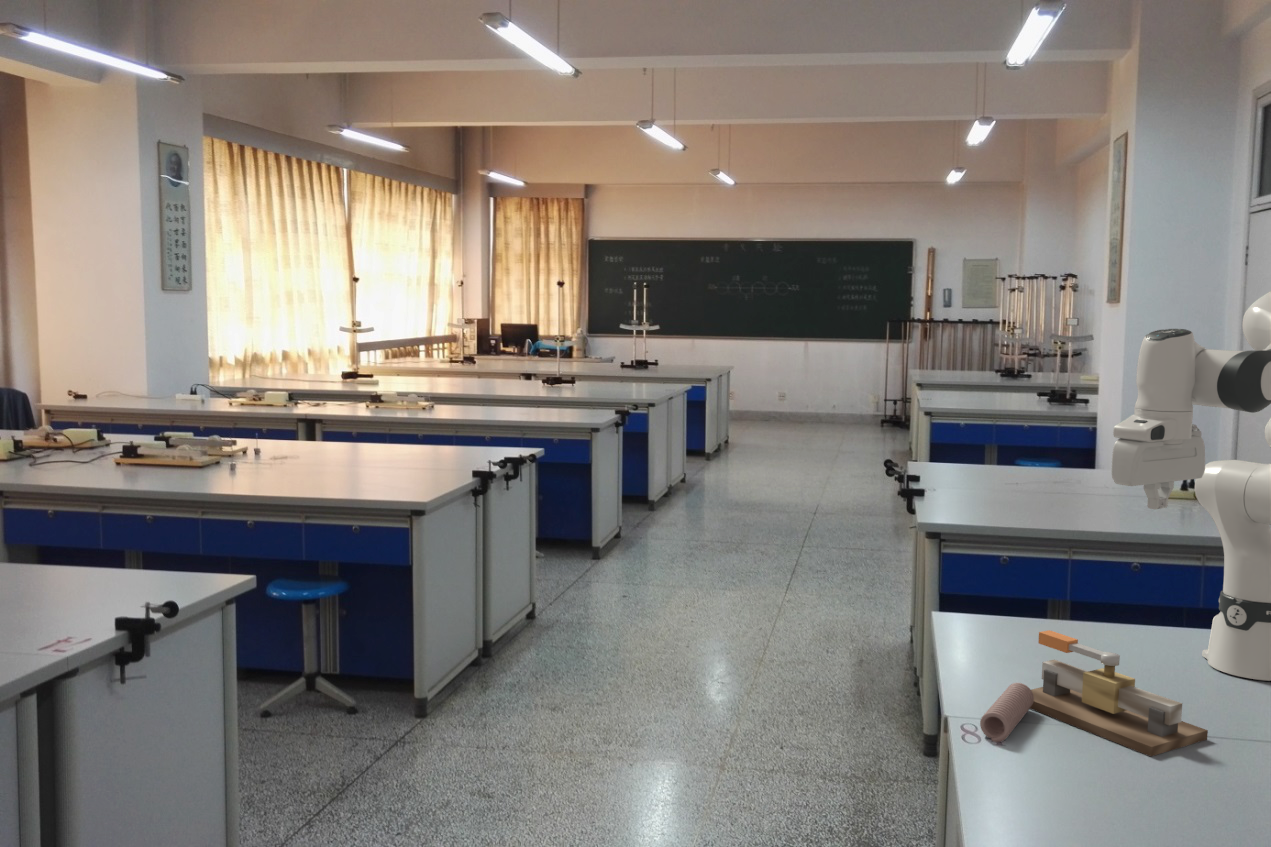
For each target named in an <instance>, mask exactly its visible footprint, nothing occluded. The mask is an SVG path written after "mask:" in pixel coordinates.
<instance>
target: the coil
mask: <svg viewBox="0 0 1271 847" xmlns="http://www.w3.org/2000/svg"><path fill="white" fill-rule="evenodd" d="M1031 690H1032V689H1031V688H1030V687H1029V686H1028V685H1026V684H1024V683H1021V682H1013V683H1011V684H1009V686H1008V687H1007V688H1006V689H1005V691H1003V692H1002V694H1001V695H999V697H998V698H997V699H996V700H995V702H994V703H993V704H992V705H991V706H990V707H989V708H988V709H987V710H986V712H985V713H984V714H983V715H982V716H981V719H980V721H979V722H980V723H979V724H980V725H979V726H980V729H981V731H982V734H983V735H984V736H986V737H987V738H989V739H991V742H994V743H1001V742H1003V741H1005V740H1007V738H1008V737H1009V735H1011V734H1012V732H1013V730H1014V729H1015V728H1016V727H1017V725H1018V724H1019V723H1020V722H1021V721H1022V719H1023V718H1024V717H1025V715H1026V714H1027V713H1028V711H1029V710H1030V707H1031V706H1032V704H1033V702H1034V696H1033V693H1032V691H1031Z"/></svg>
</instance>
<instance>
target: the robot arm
mask: <svg viewBox="0 0 1271 847" xmlns="http://www.w3.org/2000/svg"><path fill="white" fill-rule="evenodd" d="M1242 318H1243V319H1242V323H1241V324H1242V326H1241V327H1242V333H1243V336H1244V338H1245V340H1246V341H1247V343H1248V344H1249V346H1250V347H1251V348H1252V349H1251V350H1232V349H1231V350H1230V349H1229V350H1228V349H1212V348H1206V347H1205V346H1202V345H1201V344H1199V343H1197V342H1196V341H1195V337H1194V332H1193V331H1192V330H1189V329H1186V328H1165V329H1158V330H1153V331H1151V332H1149V333H1147V334H1146V335H1145V336H1144V337H1143V339H1142V341H1141V345H1140V348H1139V352H1138V358H1137V359H1138V360H1137V365H1136V366H1137V367H1136V377H1135V378H1136V379H1135V383H1136V387H1137V399H1136V401H1135V404H1134V412H1133V413H1134V414H1130V415H1129V416H1128V417H1127V418H1125V419H1123V421H1120V422H1119V423H1117V424H1115V425H1114V426H1113V432H1112V433H1113V434H1112V435H1113V437H1114V438H1115V439H1117V440H1116V441H1115V442H1114V444H1113V447H1112V458H1111V477H1112V480H1113V482H1114V484H1116V485H1120V486H1126V487H1127V486H1128V487H1136V486H1143V490H1144V493H1145V496H1146V497H1147V498H1146V499H1147V508H1148V509H1151V510H1159V509H1160V510H1161V509H1166V508H1167V507H1169V506H1168V504H1169V498H1170V496H1171V493H1172V492H1173V490H1174V486H1175V482H1180V481H1188V480H1195V482H1194V493H1195V496H1196V500H1197V501H1198V503H1199V504H1200V505H1201V506H1202V507H1203V509H1205V511H1206V512H1207V513H1208V514H1209V515H1210V517H1211V519H1212V520H1213V521H1214V524H1215V526H1216V528H1217V530H1218V533H1219V536H1220V539H1221V544H1222V548H1223V555H1224V556H1223V559H1224V560H1223V562H1224V563H1223V584H1222V590H1220V592H1219V598H1218V610H1219V611H1220V612H1219V613H1218V614H1216V615H1215V616H1213V619H1212V622H1211V623H1212V624H1211V627H1210V628H1211V630H1210V635H1209V641H1208V647H1207V649H1203V650H1202V654H1201V656H1202V657H1203V658H1205V659H1206V660H1207V664H1208V665H1209V666H1210V667H1211V668H1214V669H1215V670H1217V671H1221V672H1223V673H1226V674H1228V675H1232V676H1235V677H1239V678H1240V677H1241V678H1246V679H1251V680H1252V679H1253V680H1258V681H1268V682H1270V681H1271V528H1270V526H1271V463H1262V462H1261V463H1259V462H1253V461H1247V460H1241V459H1226V460H1225V459H1224V460H1222V459H1221V460H1213V461H1209V462H1208V463H1206V448H1205V441H1204V439H1203V437H1202V431H1201V430H1200V428H1199V427H1198V426H1197V425H1196V424H1194V423H1193V420H1194V419H1193V417H1194V416H1193V415H1194V406H1202V407H1210V408H1221V409H1222V408H1223V409H1230V410H1234V411H1240V412H1246V413H1252V414H1253V413H1258V412H1260V411H1263V410H1264V409H1265V408H1267V407H1268V406H1269V405H1271V290H1270V291H1269V292H1267V293H1265V294H1263V295H1262V296H1260V297H1259V298H1257V299H1256V300H1255V301H1254V302H1253V303H1252V304H1250V305H1249V307H1248V308H1247V309H1246V311H1245V312H1244V315H1243V316H1242ZM1264 437H1265V441H1266V443H1267V445H1268V446H1269V447H1270V448H1271V417H1270V418H1269V420H1268V421H1267V423H1266V425H1265V428H1264Z"/></svg>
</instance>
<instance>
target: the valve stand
mask: <svg viewBox="0 0 1271 847" xmlns="http://www.w3.org/2000/svg"><path fill="white" fill-rule="evenodd" d="M1103 665H1104V664H1103ZM1041 680H1043V681H1042V682H1043V683H1042V685H1043V686H1041V687H1036V688H1032V689H1031V691H1032V693H1033V696H1034V702H1033V704H1032V706H1031V707H1030V709H1031V710H1033V711H1034V712H1038V713H1040V714H1043V715H1044V716H1045V715H1046V716H1048V717H1051V718H1053V719H1055V720H1058V721H1060V722H1063V723H1065V724H1068V725H1071V726H1073V727H1076V728H1078V729H1080V730H1083V731H1085V732H1088V733H1090V734H1092V735H1096V736H1097V737H1101V738H1103V739H1106V740H1109V741H1111V742H1113V743H1116V744H1118V745H1121V746H1123V747H1126V748H1128V749H1131V750H1133V751H1136V752H1138V753H1141V754H1143V755H1146V756H1149V757H1155V756H1157V755H1160V754H1161V755H1162V754H1164V753H1167V752H1170V751H1173V750H1177V749H1180V748H1183V747H1187V746H1190V745H1194V744H1196V743H1199V742H1200V743H1201V742H1203V741H1207V740H1208V736H1209V735H1208V733H1209V732H1208V731H1209V730H1208V729H1205V728H1202V727H1200V726H1197V725H1194V724H1192V723H1189V722H1186V721H1183V720H1182V716H1183V714H1182V713H1183V702H1180V701H1177V700H1173V699H1170V698H1167V697H1166V696H1161V695H1159V694H1156V693H1153V692H1151V691H1147V690H1145V689H1142V688H1139V687H1136V678H1134V677H1131V676H1127V675H1125V674H1122V673H1119V672H1117V671H1116V666H1108V665H1104V667H1102V668H1098V669H1093V670H1086V669H1083V668H1080V667H1079V666H1078V667H1077V666H1074V665H1072V664H1068V663H1067V662H1062V661H1059V660H1057V659H1051V660H1045V661H1042V666H1041ZM1030 709H1029V710H1030Z"/></svg>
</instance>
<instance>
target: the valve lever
mask: <svg viewBox="0 0 1271 847" xmlns="http://www.w3.org/2000/svg"><path fill="white" fill-rule="evenodd" d="M1078 642H1079V640H1078V639H1077V638H1075V637H1072V636H1068V635H1065V634H1062V633H1059V632H1056V631H1053V630H1043V631H1039V632H1038V644H1039V645H1043V646H1044V647H1048V648H1051V649H1054V650H1056V651H1059V652H1063V653H1066V654H1069V653H1076V654H1080V655H1082V656H1085V657H1088V658H1091V659H1094V660H1097V661H1100V664H1102V665H1108V666H1115V667H1117V666H1120V660H1121V658H1120V657H1121V655H1120V654H1118V653H1115V652H1110V651H1103V650H1099V649H1096V648H1094V647H1090V646H1088V645H1084V644H1081V643H1078Z"/></svg>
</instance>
